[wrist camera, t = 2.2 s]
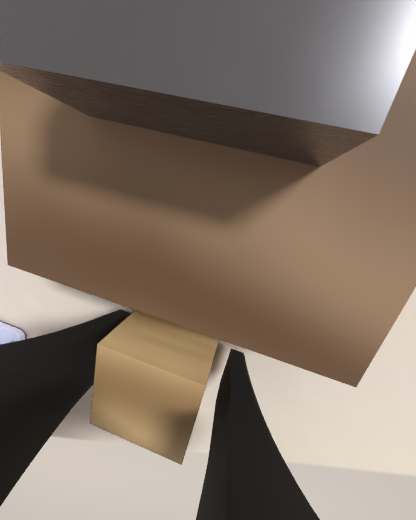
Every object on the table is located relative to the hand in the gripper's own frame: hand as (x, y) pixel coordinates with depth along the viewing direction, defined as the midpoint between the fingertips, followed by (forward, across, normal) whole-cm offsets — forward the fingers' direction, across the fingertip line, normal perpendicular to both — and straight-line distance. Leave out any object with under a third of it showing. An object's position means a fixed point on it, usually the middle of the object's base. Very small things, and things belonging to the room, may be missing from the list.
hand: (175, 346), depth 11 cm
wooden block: (+2, 0, 0) cm, 2 cm away
